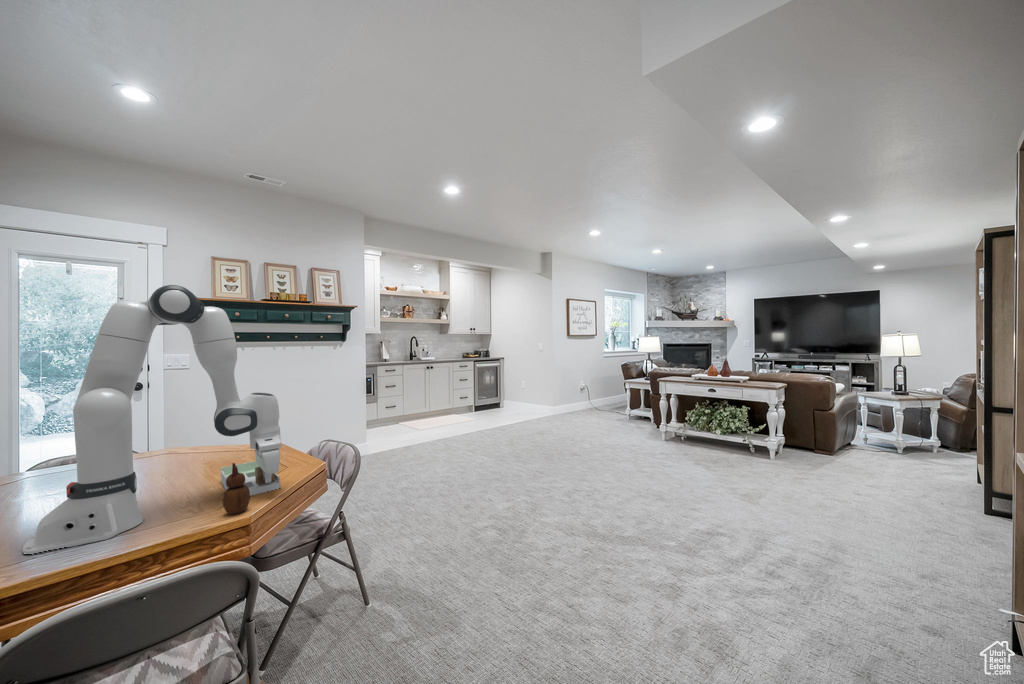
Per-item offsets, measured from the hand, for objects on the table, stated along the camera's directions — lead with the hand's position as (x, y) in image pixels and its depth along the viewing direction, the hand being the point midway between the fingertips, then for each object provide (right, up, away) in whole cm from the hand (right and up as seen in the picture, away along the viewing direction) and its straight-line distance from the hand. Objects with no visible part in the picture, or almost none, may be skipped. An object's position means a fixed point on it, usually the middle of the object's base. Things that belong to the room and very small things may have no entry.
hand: (267, 481), depth 139 cm
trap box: (-11, -4, +8) cm, 14 cm away
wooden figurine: (+1, -3, -17) cm, 18 cm away
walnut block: (-3, -1, +4) cm, 5 cm away
